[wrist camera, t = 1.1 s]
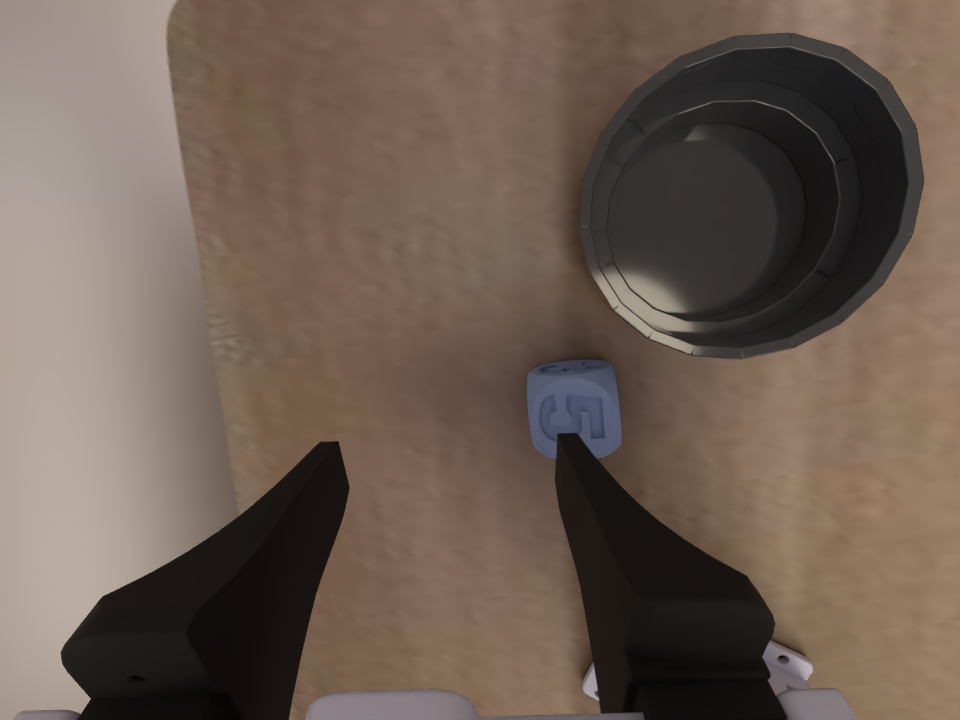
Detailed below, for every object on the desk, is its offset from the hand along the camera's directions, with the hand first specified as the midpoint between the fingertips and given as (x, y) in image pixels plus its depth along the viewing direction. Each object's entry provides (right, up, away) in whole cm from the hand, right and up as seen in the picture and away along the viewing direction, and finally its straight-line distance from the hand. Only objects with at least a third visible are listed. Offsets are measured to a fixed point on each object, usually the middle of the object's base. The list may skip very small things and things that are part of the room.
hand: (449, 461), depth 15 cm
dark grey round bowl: (+11, +10, +6) cm, 16 cm away
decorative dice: (+6, +1, +9) cm, 11 cm away
